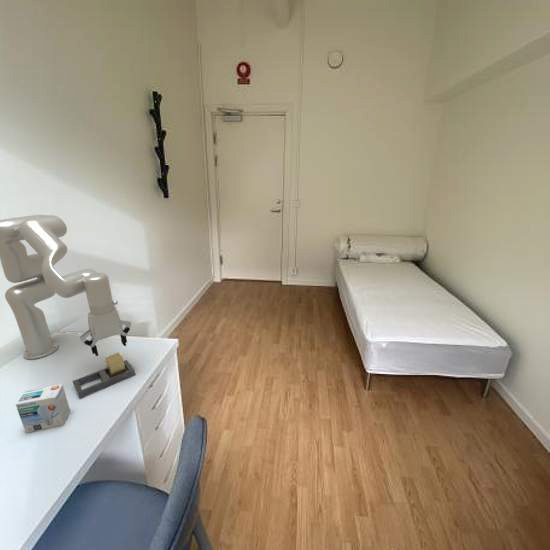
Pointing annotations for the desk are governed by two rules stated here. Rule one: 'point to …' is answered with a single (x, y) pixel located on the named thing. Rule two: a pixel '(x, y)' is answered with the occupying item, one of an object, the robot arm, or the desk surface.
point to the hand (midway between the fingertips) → (110, 349)
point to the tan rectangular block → (115, 364)
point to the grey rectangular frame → (105, 380)
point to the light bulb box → (43, 408)
